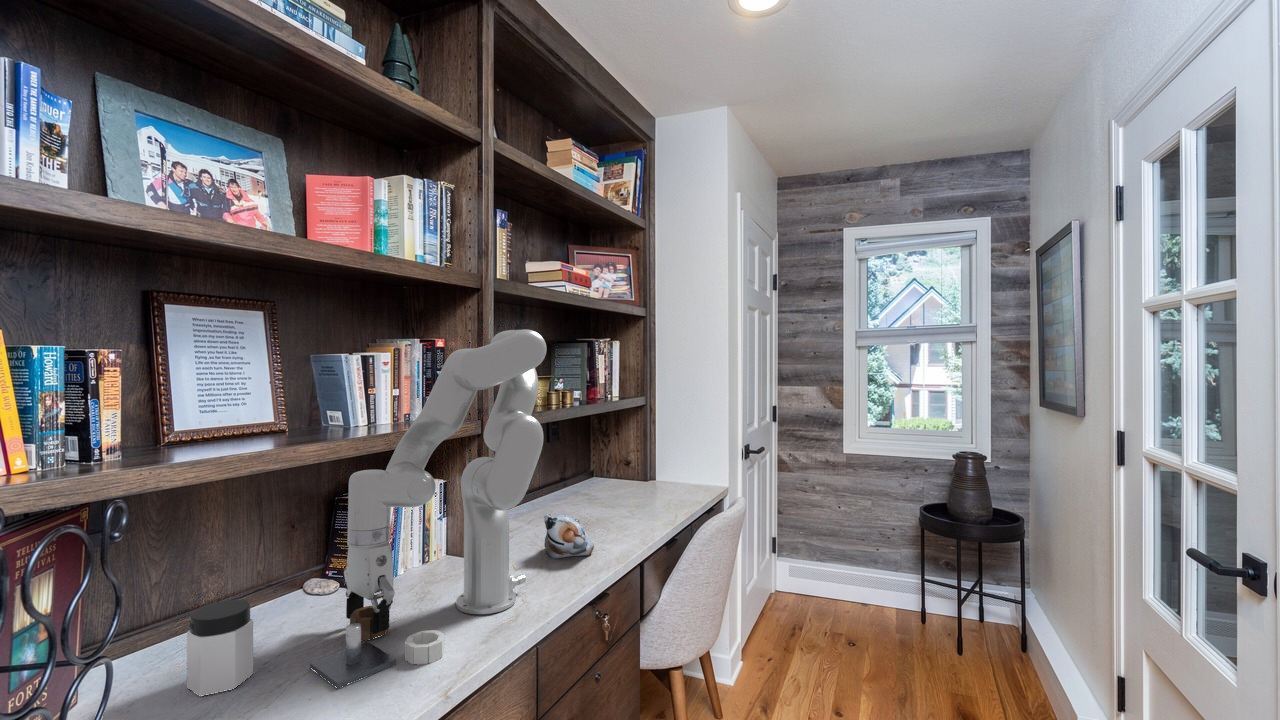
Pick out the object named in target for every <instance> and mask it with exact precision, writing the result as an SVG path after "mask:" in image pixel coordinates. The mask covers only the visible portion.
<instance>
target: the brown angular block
mask: <svg viewBox="0 0 1280 720" xmlns="http://www.w3.org/2000/svg"><path fill="white" fill-rule="evenodd" d="M372 612H374V609H373V606H372V605H366V606H364V607H363V608H360V609H357V610H356V611H354V612H353V613H352V614H351V615H350V619H349V625H350V624H354V623H359V624H361V640H368V639H373V638H375V637H378V636H381V635H383V634H385V632H386V631H387V630H388V631H389V628H388V629H387V630H384V631H381V632H378V633H376V634H373V633H372V632H371V627H372ZM388 631H387V632H388ZM387 632H386V633H387ZM385 635H386V634H385Z"/></svg>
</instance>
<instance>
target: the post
mask: <svg viewBox="0 0 1280 720" xmlns="http://www.w3.org/2000/svg"><path fill="white" fill-rule="evenodd" d="M393 665H394V666H395V665H397V658H395V657H394V656H392V655H390V654H389V653H387V652H385V651H384V650H382V649H380V648H379V647H377V646H376V645H374V644H373V643H371V642H370V641H363V642H362V641H361V624H359V623H354V624H350V623H349V624H348V625H346V627H345V649H343V650H341V651H338V652H335V653H334V654H331V655H328V656H325V657H322V658H320V659H317V660H314V661H312V662H310V663H309V669H310V668H312V669H313V670H315V671H316V672H317V673H318V674H319V675H321V676H322V677H323V678H325V679H326V680H327V681H329V682H330V683H331V684H333V685H334V686H336V687H337V688H340V687H342V686H344V685H347V684H348V683H351V682H354V681H356V680H359V679H361V678H363V679H365V678H364V677H366V676H368V677H369V675H370V676H372V675H371V674H373V675H375V674H377V673H379V672H378V671H380V672H382V671H384V670H387V669H389V668H391V667H393ZM388 667H389V668H388ZM386 668H387V669H386ZM383 669H384V670H383ZM381 670H382V671H381ZM374 673H375V674H374ZM318 674H317V675H318ZM319 675H318V676H319ZM322 677H321V678H322ZM323 678H322V679H323ZM366 678H367V677H366ZM326 680H325V681H326ZM361 680H362V679H361ZM327 681H326V682H327ZM359 681H360V680H359ZM356 682H357V681H356ZM330 683H329V684H330ZM354 683H355V682H354ZM331 684H330V685H331ZM334 686H333V687H334ZM347 686H348V685H347ZM344 687H345V686H344ZM342 688H343V687H342ZM340 689H341V688H340Z"/></svg>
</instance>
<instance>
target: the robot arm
mask: <svg viewBox="0 0 1280 720" xmlns="http://www.w3.org/2000/svg"><path fill="white" fill-rule="evenodd" d="M547 350H548V349H547V343H546V341H545V339H544V338H543V336H542V335H541V334H540V333H538V332H537V331H534V330H532V329H509V330H508V329H507V330H503V331H501V332H500V331H499V332H497V334H495V335H494V336H493V337H492V339H491V341H490V343H489V344H486V345H484V346H480V347H477V348H476V347H475V348H473V347H472V348H461V349H457V350H455V351H453V352H451V354H449V356H448V357H447V358H446V360H445V362H444V363H443V366H442V368H441V369H440V372H439V374H438V376H437V378H436V381H435V383H434V384H433V386H432V389H431V390H430V392H429V394H428V397H427V399H426V401H425V403H424V405H423V407H422V409H421V411H420V413H419V414H418V415H417V417H416V418H415V419H414V420H413V422H412V423H411V425H410V427H409V428H408V429H407V430H406V431H405V433H404V434H403V436H402V437H401V439H400V440H399V441H398V444H397V445H396V448H395V449H394V451H393V454H392V455H391V458H390V460H389V462H388V464H387V466H386V467H385V468H386V469H385V470H383V469H363V470H359V471H356V472H353V473H352V474H351V475H350V477H349V479H348V495H347V496H348V501H347V503H348V504H347V506H348V507H347V509H348V510H347V547H348V549H347V559H346V569H344V570H343V576H344V580H345V582H344V586H345V589H346V591H345V598H346V604H345V605H346V607H345V608H346V613H345V614H346V615H345V618H346V619H348V620H350V615H351V614H352V613H353V612H354V611H356V610H357V609H360V608H363V607H365V606H364V604H365V603H364V602H365V599H366V600H369V601H370V603H371V606H373V609H374V612H372V627H371V632H372V633H373V634H376V633H378V632H381V631H384V630H387V629H388V630H389V628H390V609H392V608H391V607H392V605H393V602H394V597H395V589H394V584H395V583H394V561H393V552H392V547H391V543H390V541H391V516H392V515H391V512H392V511H391V508H416V507H420V506H423V505H425V504H427V503H428V502H429V501H431V500H432V499H433V497H434V495H435V494H436V493H435V492H436V486H437V485H436V482H435V479H434V477H433V476H432V474H431V473H429V472H428V471H426V470H425V468H426V466H427V464H428V462H429V459H430V458H431V456H432V455H433V452H434V451H435V450H436V449H437V447H438V446H439V445H440V444H441V443H442V442H444V441H445V440H446V439H447V438H449V437H451V436H452V435H454V434H456V432H458V431H459V430H460V429H461V427H462V425H463V424H464V421H465V419H466V417H467V414H468V412H469V410H470V408H471V405H472V403H473V401H474V399H475V397H476V395H477V393H478V391H483V390H488V389H490V388H493V387H495V386H498V385H499V389H498V393H497V396H496V399H495V401H494V403H493V407H492V409H491V411H490V414H489V417H488V420H487V421H486V424H485V426H484V430H483V441H484V443H485V444H486V447H488V448H489V449H490V450H491V451H494V452H495V454H494V455H493V457H490V456H481V457H476V458H475V459H473V460H471V461H470V462H469V463H468V464H467V465H465V467H464V470H462V471H463V472H462V475H461V479H460V488H461V489H460V491H461V497H462V498H461V500H462V504H463V507H462V508H463V529H464V530H463V593H461V594H460V595H459V596H457V598H456V601H455V605H456V608H457V610H459V612H462V613H465V614H470V615H489V614H495V613H500V612H502V611H505V610H507V609H509V608H511V607H512V606H513V605H514V604H515V603H516V601H517V595H516V593H515V591H514V590H513V589H515V588H516V586H520V585H523V584H525V583H526V582H527V579H526V576H525V575H524V574H520V575H516V576H515V577H514V575H513V574H510V513H509V510H512V509H513V508H515V507H516V506H518V504H520V503H521V502H522V501H523V499H524V497H525V495H526V493H527V491H528V489H529V486H530V484H531V480H532V479H533V476H534V472H535V470H536V468H537V465H538V462H539V459H540V456H541V453H542V451H543V445H544V431H543V427H542V425H541V423H540V422H539V420H538V419H536V418H535V417H534V416H532V415H533V413H534V412H533V411H534V408H535V405H536V402H537V397H538V394H539V376H538V373H537V370H536V368H537V367H538V366H539V365H541V364H542V362H543V361H544V360H545V359H546V358H545V357H546V355H547ZM379 599H381V600H380V602H378V600H379Z"/></svg>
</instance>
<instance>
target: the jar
mask: <svg viewBox="0 0 1280 720" xmlns="http://www.w3.org/2000/svg"><path fill="white" fill-rule="evenodd" d="M252 674H253V675H254V619H252V618H251V604H250V602H249V601H247V600H244V599H243V600H242V599H229V600H221V601H217V602H213V603H209V604H207V605H206V604H205V605H204V606H201V607H199V608H197V609H195V610H194V611H193V612H192V613H191V614H190V616H189V629H188V630H187V631H186V689H187V688H188V689H190V690H192V691H193V692H195V693H197V694H198V695H200V696H201V695H206V694H211V693H215V692H220V691H224V690H229V689H233V688H236V687H237V686H238V685H239V684H241V683H242V682H243V681H244V682H246V681H247V680H248V679H249V678H251V677H252V676H253V675H252ZM251 675H252V676H251ZM250 676H251V677H250ZM247 678H248V679H247ZM246 679H247V680H246ZM245 680H246V681H245ZM244 682H243V683H244ZM243 683H242V684H243ZM242 684H241V685H242ZM238 687H239V686H238ZM238 687H237V688H238ZM237 688H236V689H237ZM188 689H187V690H188ZM190 690H189V691H190ZM192 691H191V692H192ZM193 692H192V693H193ZM195 693H194V694H195ZM197 694H196V695H197ZM198 695H197V696H198ZM200 696H199V697H200Z"/></svg>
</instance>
